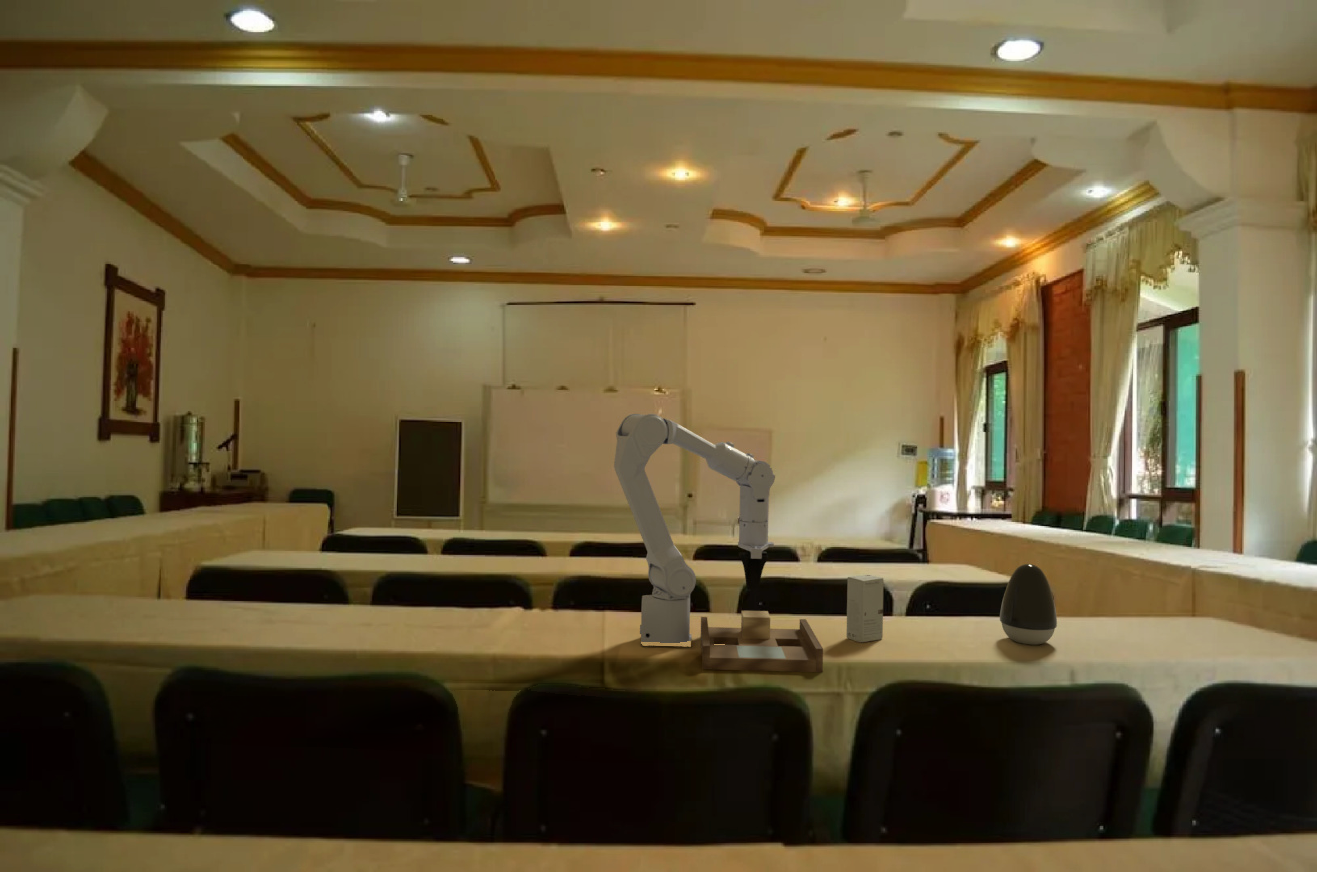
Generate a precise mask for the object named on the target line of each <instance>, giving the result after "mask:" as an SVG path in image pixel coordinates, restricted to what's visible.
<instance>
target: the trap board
mask: <svg viewBox="0 0 1317 872" xmlns="http://www.w3.org/2000/svg"><path fill="white" fill-rule="evenodd" d="M714 644H725V645H714ZM701 646H702V652H701V659H702V658H703V661H702V660H701V664H702V670H722V671H723V670H725V671H726V670H727V671H730V670H731V671H762V672H766V671H767V672H770V671H771V672H800V673H801V672H802V673H803V672H804V673H805V672H808V673H823V672H824V670H823V669H824V667H823V666H824V648H823V646H822V645H821V642H820V640H818V638H817V636H816V634H815V633H814V631H813V629H812V626H811V625H810V624H809V622H808V621H807V619H806V618H799V629H798V628H770V639H746V638H743V637H742V633H741V627H724V626H723V627H719V626H717V627H716V626H714V627H713V626H709V623H708V616H700V647H701ZM702 662H703V663H702Z"/></svg>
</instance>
